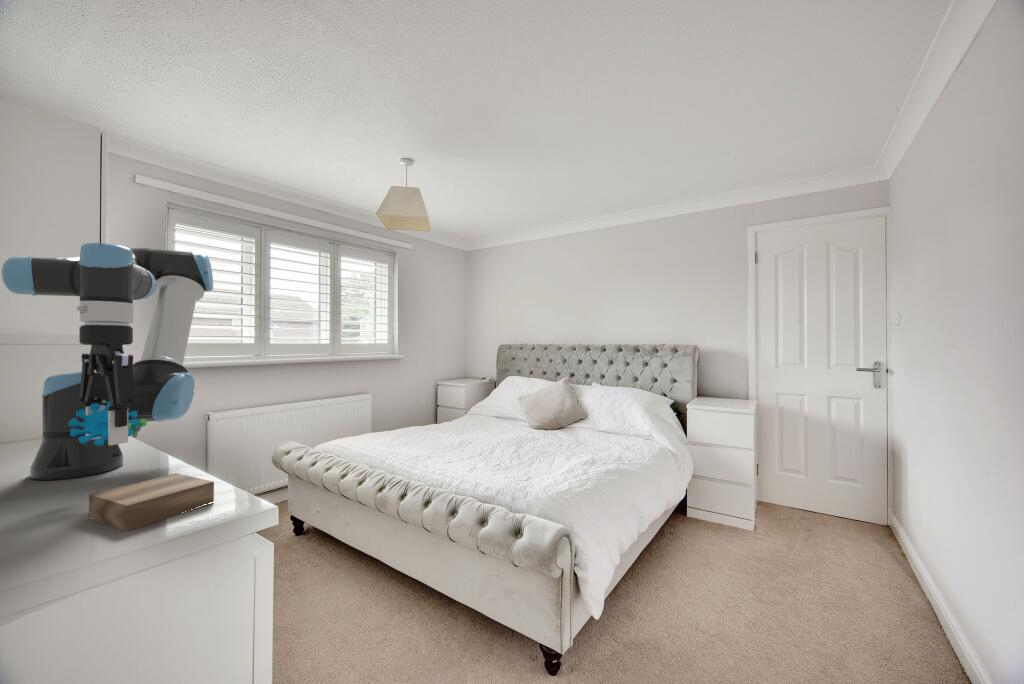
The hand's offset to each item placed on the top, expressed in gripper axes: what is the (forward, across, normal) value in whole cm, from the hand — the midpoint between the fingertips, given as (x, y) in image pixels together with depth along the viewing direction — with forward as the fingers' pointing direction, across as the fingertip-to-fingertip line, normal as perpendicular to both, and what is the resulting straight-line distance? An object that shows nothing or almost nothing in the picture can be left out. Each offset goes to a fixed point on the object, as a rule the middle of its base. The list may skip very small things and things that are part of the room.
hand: (106, 441), depth 83 cm
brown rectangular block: (+10, +17, 0) cm, 20 cm away
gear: (+1, 0, 0) cm, 1 cm away
